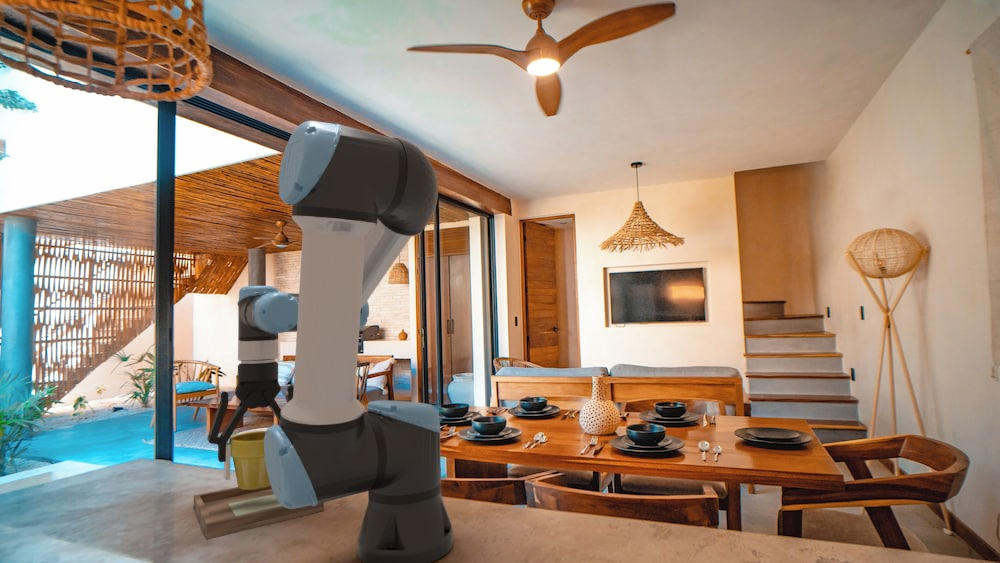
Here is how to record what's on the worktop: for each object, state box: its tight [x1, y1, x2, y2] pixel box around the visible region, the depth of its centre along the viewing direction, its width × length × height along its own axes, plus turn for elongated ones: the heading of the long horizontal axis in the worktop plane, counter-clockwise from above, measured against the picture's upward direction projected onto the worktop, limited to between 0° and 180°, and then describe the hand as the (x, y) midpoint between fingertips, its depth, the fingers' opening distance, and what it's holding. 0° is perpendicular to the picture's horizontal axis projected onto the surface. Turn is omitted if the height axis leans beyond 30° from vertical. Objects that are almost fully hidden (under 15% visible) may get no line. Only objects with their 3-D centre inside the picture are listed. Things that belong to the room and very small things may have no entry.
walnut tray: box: [193, 485, 325, 540], centre depth 102 cm, size 20×20×2 cm
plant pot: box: [228, 430, 271, 490], centre depth 103 cm, size 10×10×10 cm
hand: (257, 472), depth 103 cm, fingers closed on plant pot, 10 cm apart
